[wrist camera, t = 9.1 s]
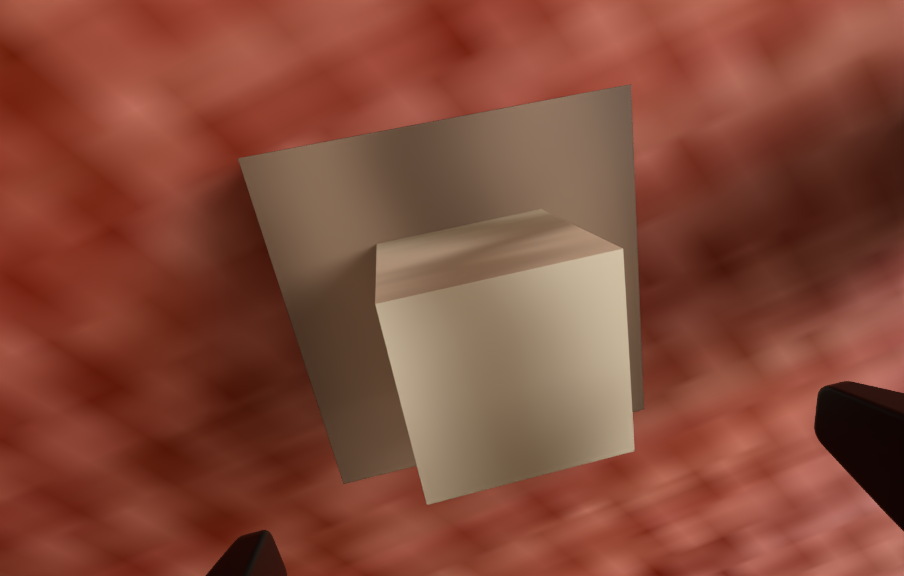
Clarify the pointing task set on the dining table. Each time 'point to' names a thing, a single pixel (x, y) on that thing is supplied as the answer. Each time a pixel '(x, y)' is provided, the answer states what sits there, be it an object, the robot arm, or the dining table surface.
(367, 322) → the beige flat block
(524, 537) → the dining table surface
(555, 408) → the birch cube
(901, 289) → the dining table surface
